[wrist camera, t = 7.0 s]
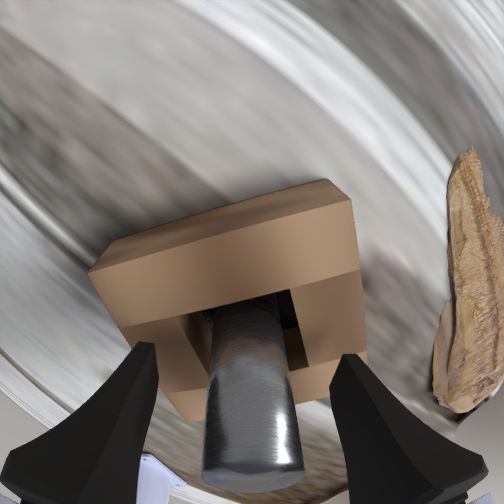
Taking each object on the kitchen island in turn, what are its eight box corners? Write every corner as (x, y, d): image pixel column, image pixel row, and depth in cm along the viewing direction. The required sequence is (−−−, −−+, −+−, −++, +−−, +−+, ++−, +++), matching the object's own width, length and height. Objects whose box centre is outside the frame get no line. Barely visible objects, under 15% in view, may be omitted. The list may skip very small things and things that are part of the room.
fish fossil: (380, 187, 13) (391, 193, 12) (503, 111, 12) (516, 112, 11) (444, 420, 23) (449, 428, 22) (517, 362, 22) (523, 368, 20)
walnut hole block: (191, 383, 18) (186, 421, 15) (113, 241, 13) (87, 273, 11) (352, 346, 17) (367, 384, 14) (327, 178, 13) (351, 199, 10)
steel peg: (226, 332, 16) (222, 496, 8) (207, 285, 15) (183, 463, 7) (282, 318, 16) (311, 484, 8) (268, 270, 14) (295, 450, 6)
